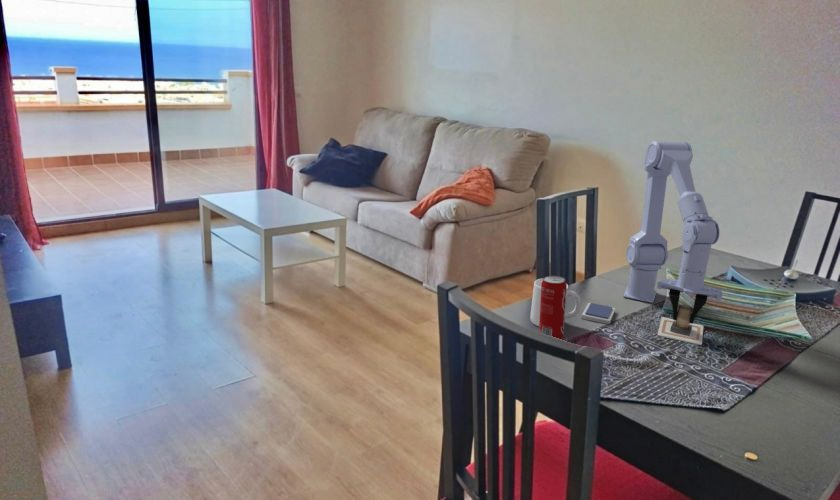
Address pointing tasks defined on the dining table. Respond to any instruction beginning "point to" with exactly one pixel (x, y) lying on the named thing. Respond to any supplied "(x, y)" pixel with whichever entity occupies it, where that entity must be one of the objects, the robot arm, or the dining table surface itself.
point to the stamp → (682, 320)
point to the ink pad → (598, 313)
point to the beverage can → (553, 306)
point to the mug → (537, 298)
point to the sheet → (693, 338)
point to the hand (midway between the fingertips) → (682, 320)
